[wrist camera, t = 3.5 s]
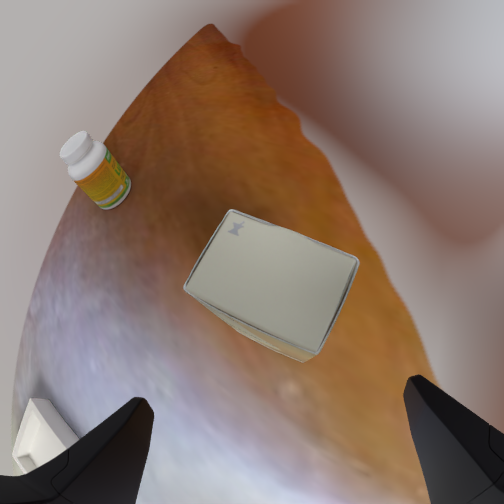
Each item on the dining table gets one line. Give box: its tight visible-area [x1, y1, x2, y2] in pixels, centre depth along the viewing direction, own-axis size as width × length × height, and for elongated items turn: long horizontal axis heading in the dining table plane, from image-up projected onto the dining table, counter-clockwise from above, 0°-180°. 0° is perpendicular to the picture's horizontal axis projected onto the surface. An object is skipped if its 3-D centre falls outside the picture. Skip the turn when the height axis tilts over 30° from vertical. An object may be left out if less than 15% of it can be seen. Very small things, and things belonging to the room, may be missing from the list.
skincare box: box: [183, 209, 359, 363], centre depth 16 cm, size 6×4×12 cm
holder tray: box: [12, 398, 80, 474], centre depth 16 cm, size 12×12×3 cm
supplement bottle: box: [60, 131, 131, 209], centre depth 27 cm, size 5×5×10 cm
